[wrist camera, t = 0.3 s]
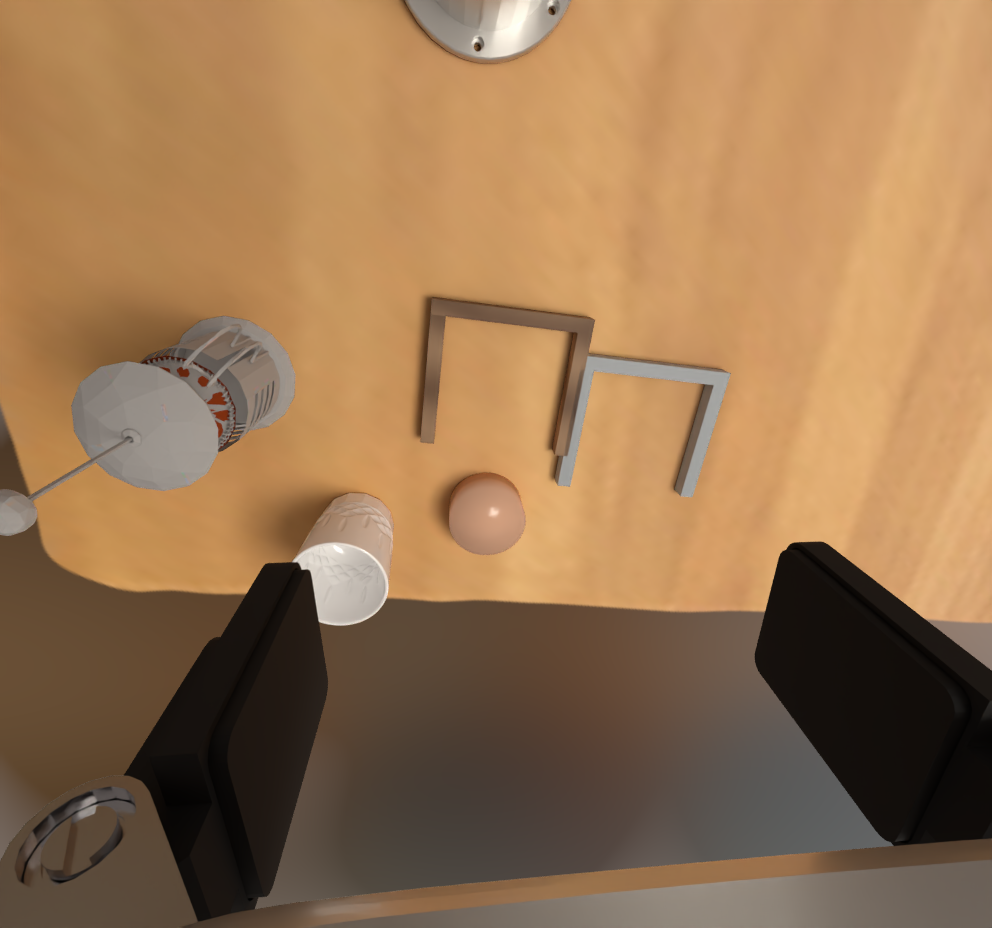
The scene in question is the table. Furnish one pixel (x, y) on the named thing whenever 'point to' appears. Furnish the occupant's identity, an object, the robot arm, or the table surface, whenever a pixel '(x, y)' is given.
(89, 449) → the french press
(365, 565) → the white cup
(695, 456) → the frame
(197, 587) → the table surface
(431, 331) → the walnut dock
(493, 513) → the beige flattened dome
